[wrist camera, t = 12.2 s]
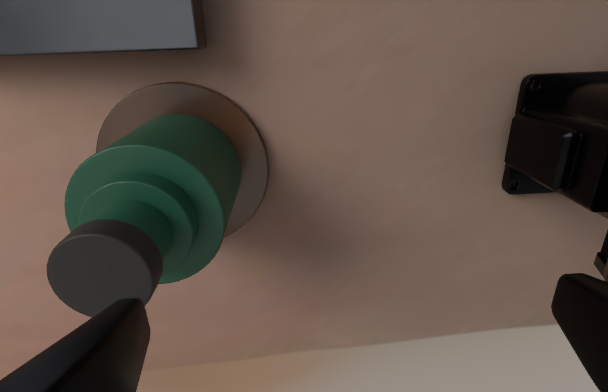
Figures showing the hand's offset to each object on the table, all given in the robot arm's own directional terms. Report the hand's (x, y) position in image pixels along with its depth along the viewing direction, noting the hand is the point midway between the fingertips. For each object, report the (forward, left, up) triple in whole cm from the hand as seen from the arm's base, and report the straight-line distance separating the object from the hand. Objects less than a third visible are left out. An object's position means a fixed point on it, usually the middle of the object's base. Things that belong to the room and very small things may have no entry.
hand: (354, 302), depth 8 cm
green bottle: (+7, +1, -13) cm, 14 cm away
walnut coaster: (+7, +1, -13) cm, 15 cm away
